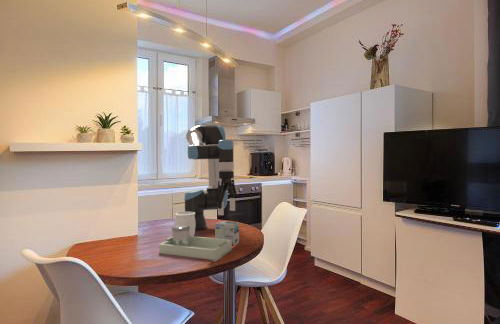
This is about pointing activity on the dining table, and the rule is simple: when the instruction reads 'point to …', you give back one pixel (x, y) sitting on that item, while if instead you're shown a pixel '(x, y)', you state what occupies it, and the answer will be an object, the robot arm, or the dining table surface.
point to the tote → (198, 248)
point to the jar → (186, 220)
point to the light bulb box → (227, 231)
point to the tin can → (181, 236)
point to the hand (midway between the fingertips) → (226, 212)
